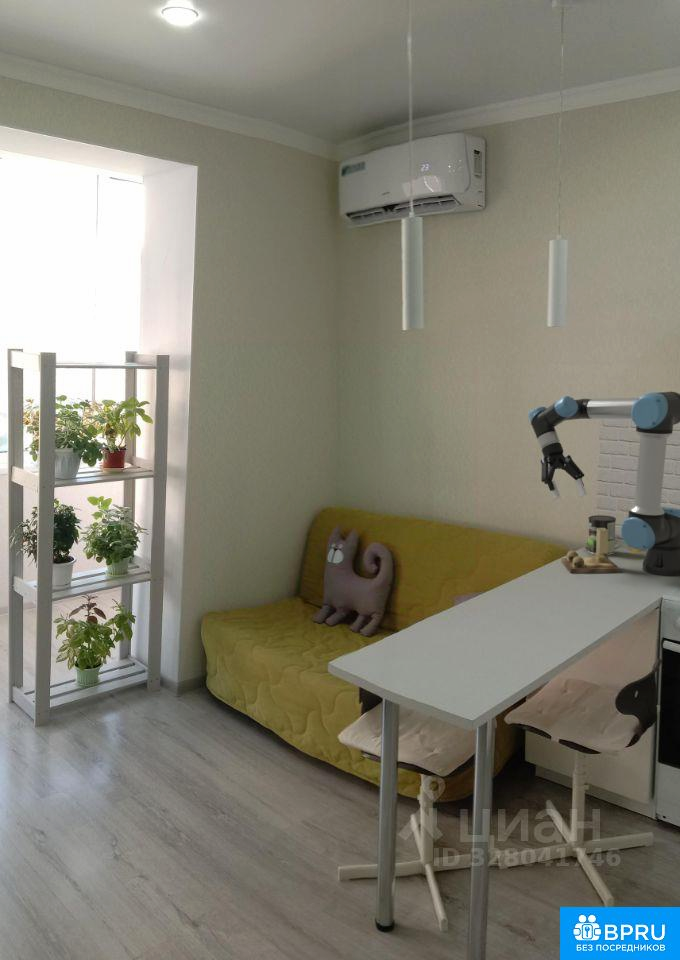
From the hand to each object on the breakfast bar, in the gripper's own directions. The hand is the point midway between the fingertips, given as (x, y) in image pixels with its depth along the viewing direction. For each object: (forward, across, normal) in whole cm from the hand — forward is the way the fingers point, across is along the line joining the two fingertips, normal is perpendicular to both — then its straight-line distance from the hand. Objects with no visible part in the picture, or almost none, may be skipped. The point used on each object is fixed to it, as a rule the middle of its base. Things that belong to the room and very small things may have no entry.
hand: (570, 496), depth 303 cm
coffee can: (+19, -24, -18) cm, 35 cm away
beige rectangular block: (+25, -6, -3) cm, 26 cm away
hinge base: (+26, -3, -7) cm, 27 cm away
